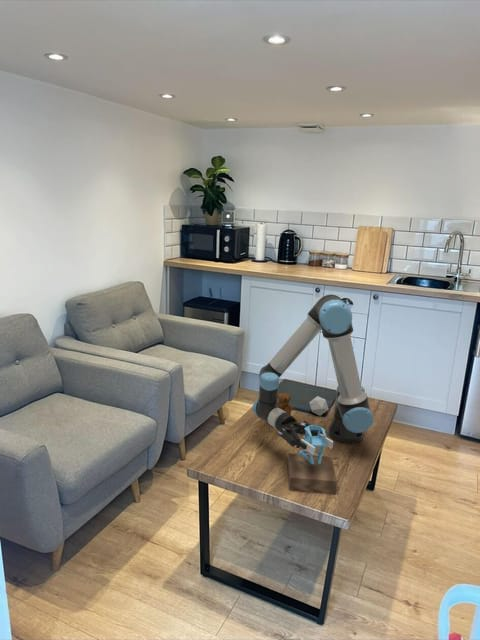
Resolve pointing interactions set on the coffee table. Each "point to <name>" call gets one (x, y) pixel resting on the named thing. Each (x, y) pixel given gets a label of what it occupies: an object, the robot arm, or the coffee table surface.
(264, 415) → the robot arm
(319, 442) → the chair
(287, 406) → the stuffed squirrel
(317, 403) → the die
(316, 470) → the wooden square box
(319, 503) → the coffee table surface
